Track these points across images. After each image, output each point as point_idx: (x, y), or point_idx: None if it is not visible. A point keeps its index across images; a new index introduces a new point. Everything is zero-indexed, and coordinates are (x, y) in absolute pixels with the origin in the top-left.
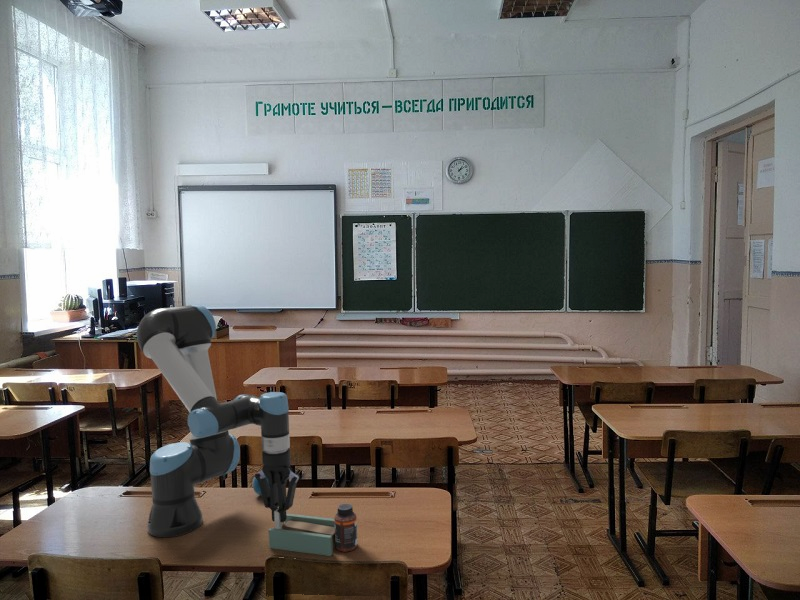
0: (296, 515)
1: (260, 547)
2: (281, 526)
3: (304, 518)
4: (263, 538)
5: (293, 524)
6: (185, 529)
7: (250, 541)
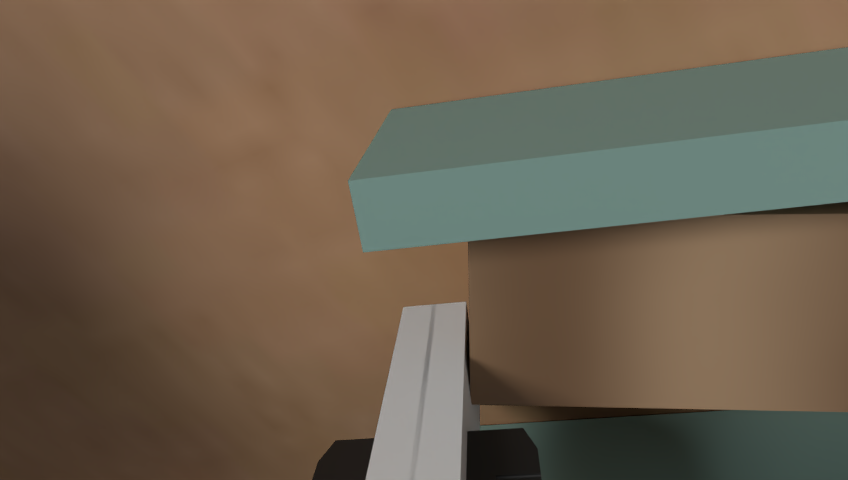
0: (577, 189)
1: None
2: (472, 413)
3: (767, 200)
4: (275, 344)
5: (617, 337)
6: None
7: (210, 419)
